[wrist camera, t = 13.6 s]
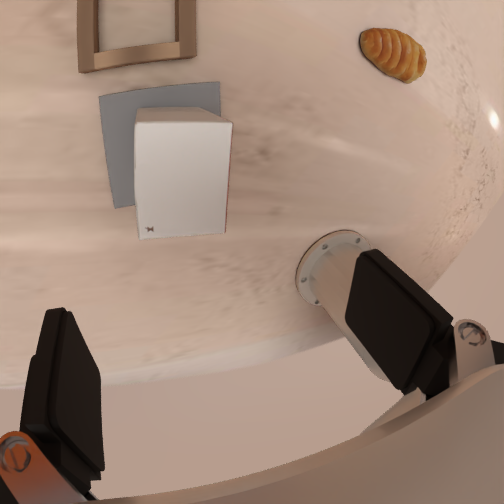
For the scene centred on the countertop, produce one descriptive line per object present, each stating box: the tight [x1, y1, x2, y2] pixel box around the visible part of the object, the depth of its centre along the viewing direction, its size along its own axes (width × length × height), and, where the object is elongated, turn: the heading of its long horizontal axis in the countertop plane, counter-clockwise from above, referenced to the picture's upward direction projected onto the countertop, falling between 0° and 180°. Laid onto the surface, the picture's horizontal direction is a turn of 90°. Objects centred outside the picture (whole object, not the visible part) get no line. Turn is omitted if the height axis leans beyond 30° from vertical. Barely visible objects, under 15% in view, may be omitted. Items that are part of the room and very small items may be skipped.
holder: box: [77, 0, 197, 73], centre depth 21 cm, size 11×13×4 cm
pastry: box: [360, 28, 427, 84], centre depth 31 cm, size 9×7×4 cm
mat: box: [99, 82, 221, 209], centre depth 31 cm, size 12×12×1 cm
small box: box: [134, 107, 233, 240], centre depth 25 cm, size 8×6×13 cm
